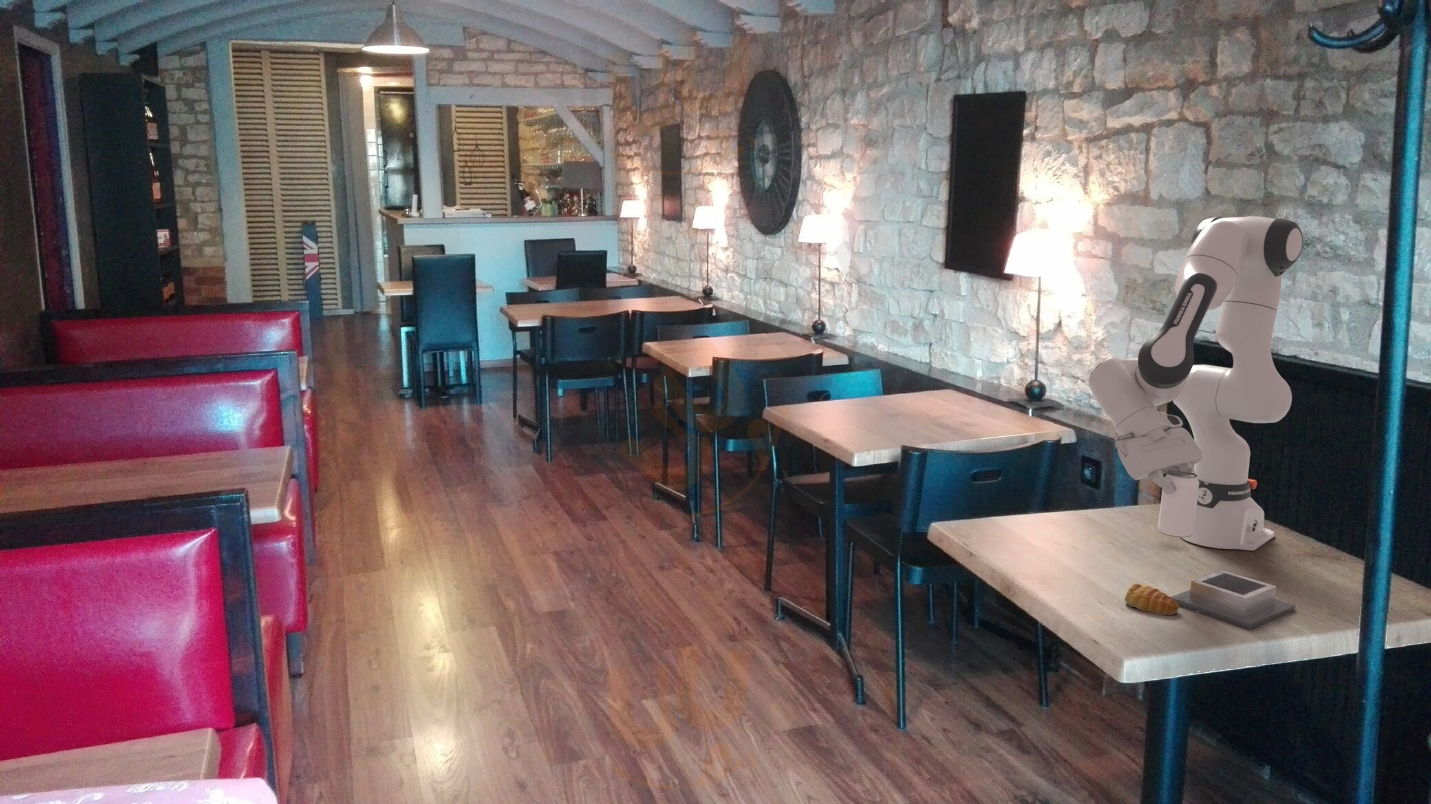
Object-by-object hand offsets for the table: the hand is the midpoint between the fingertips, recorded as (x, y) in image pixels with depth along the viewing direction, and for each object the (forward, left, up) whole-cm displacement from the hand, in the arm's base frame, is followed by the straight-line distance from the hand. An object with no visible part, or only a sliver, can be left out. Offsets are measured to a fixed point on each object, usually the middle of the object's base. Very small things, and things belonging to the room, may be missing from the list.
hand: (1183, 489), depth 217 cm
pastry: (+13, +3, -21) cm, 24 cm away
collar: (0, +12, -20) cm, 23 cm away
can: (0, -1, -9) cm, 9 cm away
